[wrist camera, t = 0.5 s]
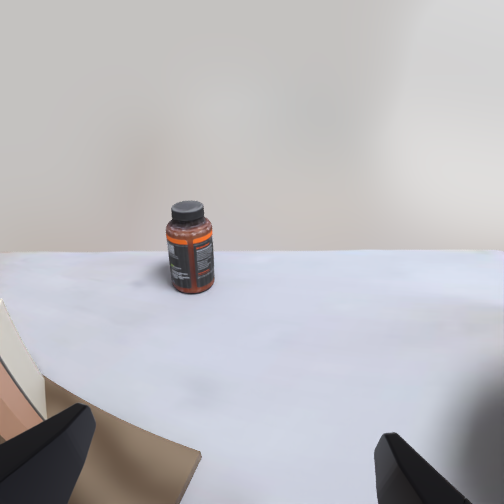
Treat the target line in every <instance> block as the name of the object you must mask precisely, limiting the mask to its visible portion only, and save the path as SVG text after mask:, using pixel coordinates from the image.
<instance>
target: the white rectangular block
mask: <svg viewBox="0 0 504 504" xmlns="http://www.w3.org/2000/svg"><path fill="white" fill-rule="evenodd" d="M0 362H1V364H2V365H3V367H4V368H5V370H6V371H7V373H8V374H9V376H10V377H11V379H12V380H13V382H14V383H15V385H16V386H17V388H18V389H19V390H20V392H21V393H22V394H23V396H24V397H25V399H26V400H27V401H28V402H29V404H30V405H31V406H32V408H33V409H34V410H35V412H36V413H37V414H38V415H39V417H40V418H41V419H42V420H43V421H45V420H47V412H46V399H45V379H44V378H43V376H42V374H41V373H40V371H39V369H38V368H37V366H36V364H35V363H34V361H33V359H32V357H31V356H30V354H29V352H28V350H27V348H26V347H25V345H24V343H23V341H22V339H21V337H20V335H19V333H18V331H17V329H16V327H15V325H14V323H13V321H12V319H11V317H10V315H9V313H8V311H7V308H6V306H5V304H4V302H3V299H0Z"/></svg>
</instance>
